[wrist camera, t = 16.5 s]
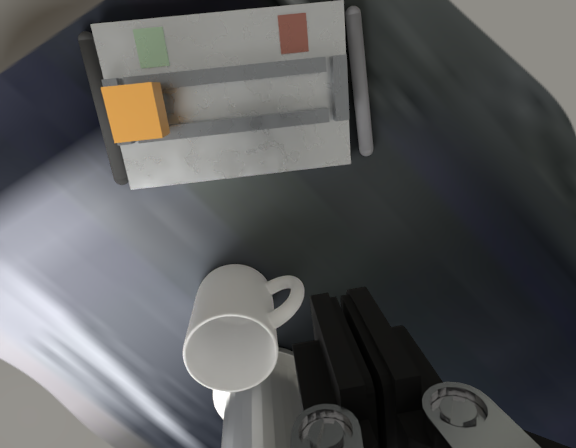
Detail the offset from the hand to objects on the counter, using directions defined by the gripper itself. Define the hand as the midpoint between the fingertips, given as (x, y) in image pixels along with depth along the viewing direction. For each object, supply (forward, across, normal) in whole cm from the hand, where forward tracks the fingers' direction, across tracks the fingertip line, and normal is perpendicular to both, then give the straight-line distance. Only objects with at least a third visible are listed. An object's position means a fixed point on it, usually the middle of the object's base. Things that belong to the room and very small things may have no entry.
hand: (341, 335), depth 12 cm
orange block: (+27, +10, -7) cm, 30 cm away
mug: (+30, +5, +13) cm, 33 cm away
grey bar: (+29, +15, -8) cm, 33 cm away
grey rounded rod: (+29, -9, -7) cm, 31 cm away
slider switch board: (+29, +3, -7) cm, 30 cm away
